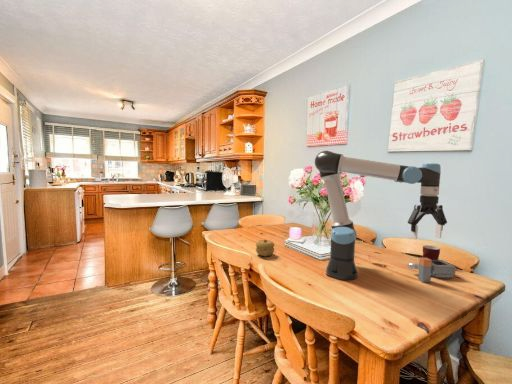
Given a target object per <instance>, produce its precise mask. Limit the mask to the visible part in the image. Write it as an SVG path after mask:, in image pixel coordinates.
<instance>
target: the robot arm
mask: <svg viewBox="0 0 512 384" xmlns="http://www.w3.org/2000/svg"><path fill="white" fill-rule="evenodd" d="M314 165H315V168H316V169H317V170H318V172H319V175H320V177H319V178H320V179H321V180H323V181H324V185H325V191H326V194H327V199H328V204H329V208H330V214H331V217H332V223H331V226H330V227H331V233H330V255H329V256H330V257H329V260H328V263H327V266H326V269H325V270H326V274H327V276H329V277H331V278H333V279H337V280H341V281H352V280H355V279H357V278H358V268H357V266H356V263H355V251H356V249H355V248H356V241H357V237H358V235H357V231H356V229H355V225H354V222H353V220H351V219H350V217H349V212H348V207H347V204H346V199H345V195H344V190H343V185H342V181H341V176H342V174H343V173H346V174H354V175H358V176H365V177H370V178H376V179H377V178H378V179H382V180H389V181H394V182H395V183H400V184H401V183H406V184H409V185H414V184H417V183H418V184H419V183H420V196H419V203H420V204H419V205H418V204H414V206H413V210H412V212H411V213H410V216H409V218H408V220H407V224H409V225H410V231H411V239H415V240H417V239H418V234H419V232H418V231H419V225H418V224H419V222H420V221H421V220H422V218H423V217H424V216H426V215H431V216H432V218H433V219H434V220H435V222H436V223H435V235H434V236H435V238H438V239H442V234H443V233H442V231H443V227H444V226H446V224H447V223H448V221H447V218H446V215H445V213H444V209H443V205H442V204H439V198H440V197H439V196H438V195H439V194H440V184H441V181H440V180H441V167H442V166H441V164H439V163H433V162H432V163H422V164H421V166H420V167H417V166H412V165H411V166H408V165H401V164H396V163H389V162H381V161H376V160H369V159H363V158H362V159H361V158H355V157H349V156H344V154H342V153H337V152H334V151H331V150H323V151H320V152H318V153H317V155H316V156H315V159H314Z"/></svg>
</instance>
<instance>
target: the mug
mask: <svg viewBox="0 0 512 384" xmlns="http://www.w3.org/2000/svg"><path fill="white" fill-rule="evenodd" d="M440 254H441V248H440V247H438V246H434V245H427V244H426V245H425V244H424V245H422V257H421V258H429V259H430V260H439V257H440Z"/></svg>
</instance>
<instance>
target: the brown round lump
mask: <svg viewBox="0 0 512 384" xmlns="http://www.w3.org/2000/svg"><path fill="white" fill-rule="evenodd" d="M255 246H256V247H255V251H256V253H257V255H259V256H261V257H270V256H271V255H273V254H274V252H275V248H274V247H275V243H274V242H273V241H272V240H270V239H266V238H265V239H264V238H263V239H260V240H258V241H257V242H256V243H255Z"/></svg>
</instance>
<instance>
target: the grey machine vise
mask: <svg viewBox="0 0 512 384" xmlns="http://www.w3.org/2000/svg"><path fill="white" fill-rule="evenodd" d="M407 268H408V269H414V270H416V269H417V270H419V263H407ZM456 268H457V267H456V266H455V265H453V264H451V263H448V262H447V261H445V260H443V259H438V260H432V264H431V276H432V278H434V279H435V278H436V279H439V278H440V279H441V280H452V279H453V275H454V276H455V275H456V270H457V269H456Z"/></svg>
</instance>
